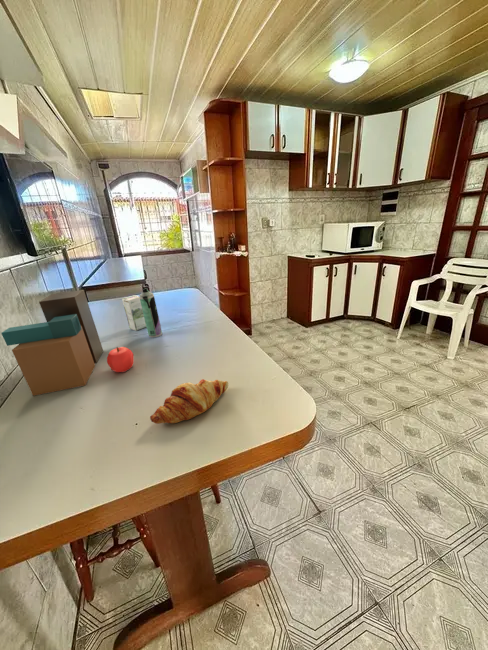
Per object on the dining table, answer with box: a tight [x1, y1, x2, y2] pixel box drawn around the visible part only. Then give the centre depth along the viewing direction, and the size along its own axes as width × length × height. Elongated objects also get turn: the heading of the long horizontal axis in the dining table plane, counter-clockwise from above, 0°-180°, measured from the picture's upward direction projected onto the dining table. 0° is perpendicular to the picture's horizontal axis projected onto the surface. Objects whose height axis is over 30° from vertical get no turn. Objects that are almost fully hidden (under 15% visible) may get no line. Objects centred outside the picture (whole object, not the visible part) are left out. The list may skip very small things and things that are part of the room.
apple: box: [106, 346, 135, 373], centre depth 86 cm, size 8×8×8 cm
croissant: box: [149, 378, 229, 424], centre depth 66 cm, size 21×10×8 cm, turn 130°
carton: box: [11, 326, 96, 397], centre depth 81 cm, size 14×12×15 cm
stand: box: [38, 289, 104, 365], centre depth 92 cm, size 10×10×24 cm
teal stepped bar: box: [0, 314, 82, 347], centre depth 77 cm, size 18×5×5 cm, turn 104°
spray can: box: [138, 287, 163, 339], centre depth 108 cm, size 6×6×20 cm
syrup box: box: [121, 294, 147, 332], centre depth 118 cm, size 6×6×14 cm
